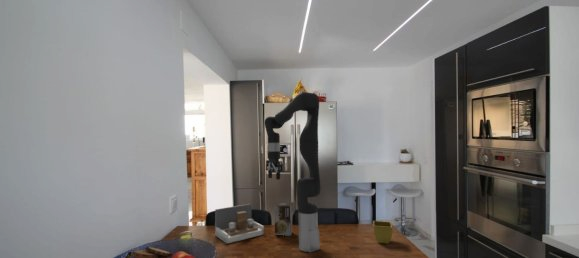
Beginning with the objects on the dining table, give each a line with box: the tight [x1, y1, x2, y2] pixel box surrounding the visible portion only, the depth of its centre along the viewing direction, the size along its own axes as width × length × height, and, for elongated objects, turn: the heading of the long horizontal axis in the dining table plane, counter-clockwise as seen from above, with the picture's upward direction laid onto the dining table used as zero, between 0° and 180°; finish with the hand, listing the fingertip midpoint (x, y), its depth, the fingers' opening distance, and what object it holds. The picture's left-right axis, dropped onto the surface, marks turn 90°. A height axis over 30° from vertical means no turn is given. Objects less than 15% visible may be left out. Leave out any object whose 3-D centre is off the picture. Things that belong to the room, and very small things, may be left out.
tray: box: [225, 211, 258, 236], centre depth 142 cm, size 8×16×10 cm, turn 126°
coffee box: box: [273, 203, 293, 237], centre depth 144 cm, size 9×6×16 cm
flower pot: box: [373, 220, 393, 244], centre depth 130 cm, size 9×9×9 cm
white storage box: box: [214, 203, 265, 244], centre depth 144 cm, size 16×22×14 cm
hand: (274, 178), depth 149 cm, fingers open, 8 cm apart
